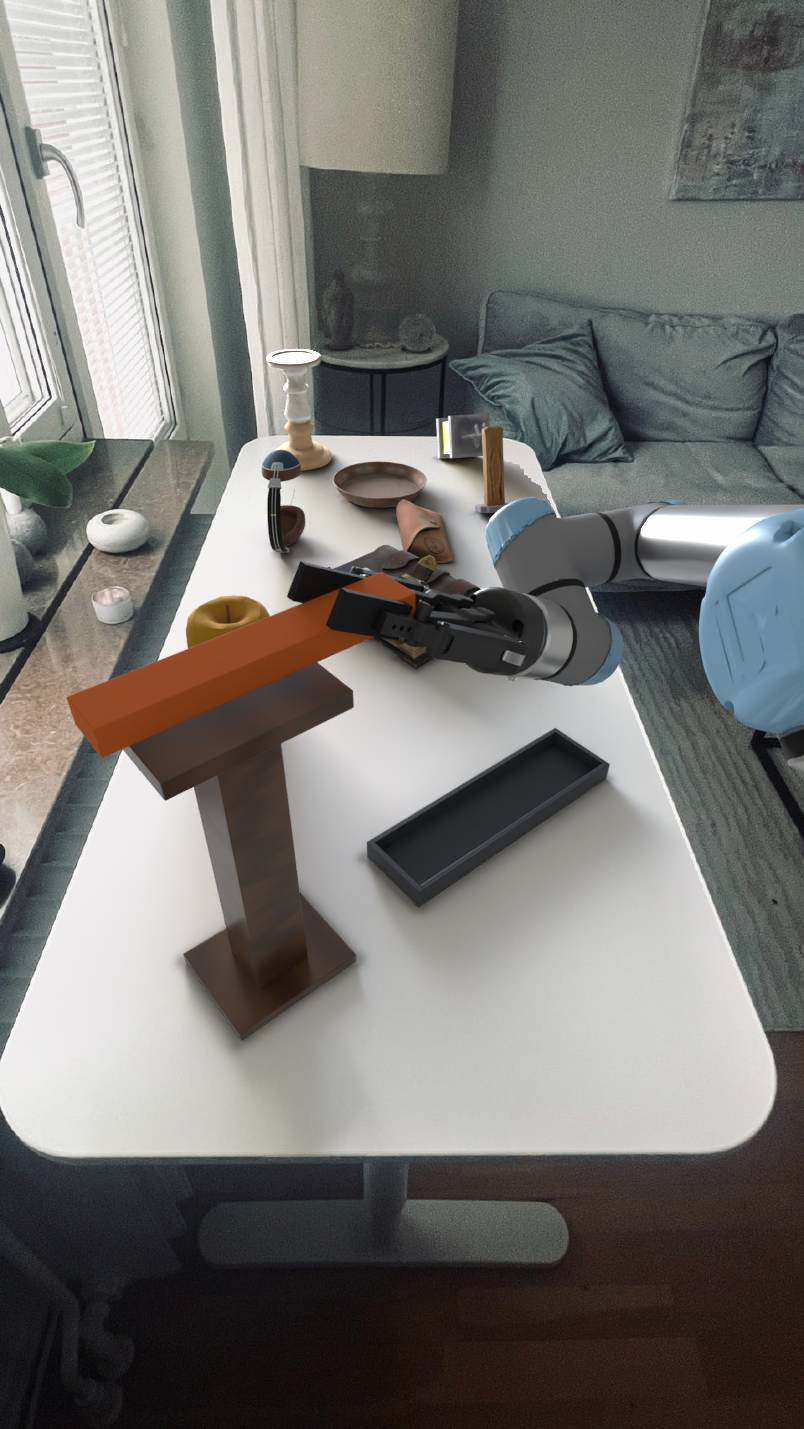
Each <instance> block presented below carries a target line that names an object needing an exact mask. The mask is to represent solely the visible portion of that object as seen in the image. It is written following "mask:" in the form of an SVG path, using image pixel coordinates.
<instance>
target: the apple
mask: <svg viewBox="0 0 804 1429" xmlns="http://www.w3.org/2000/svg"><path fill="white" fill-rule="evenodd" d="M269 616H271V615H270V613H269V611H268V609H267V608H266V606H265V605H263V604H262V602H261V601H259V600H256V599H253V598H251V597H248V596H245V595H235V594H233V595H224V596H223V595H222V596H218V597H216V598H213V599H211V600H208V601H207V602H204V603H202V604H200V605H199V606H197V607H196V608H194V609H193V610H192V611H191V613H190V614H189V615H188V616H187V621H186V626H185V637H186V638H185V639H186V645H187V646H186V647H187V649H189V648H191V647H194V646H196V645H199V644H201V643H204V642H206V641H209V640H211V639H214V638H216V637H219V636H221V635H224V634H226V633H229V632H231V631H234V630H237V629H239V628H242V627H244V626H247V625H249V624H252V623H254V622H257V621H259V620H262V619H264V618H267V617H269Z"/></svg>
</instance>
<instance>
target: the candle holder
mask: <svg viewBox="0 0 804 1429" xmlns="http://www.w3.org/2000/svg"><path fill="white" fill-rule="evenodd" d="M265 361H266V364H267V365H268V366H269V367H271V368H274V369H277V370H281V372H282V373H283V374H284V376H285V378H286V383H285V384H284V385H283V387H282V390H283V391H284V392H285V393H286V403H285V407H284V414H283V415H284V417H285V419H286V420H288V421H287V422H286V424H285V425H284V430H285V431H286V432H287V433H288V441H286V442H283V444H281V445H280V446H279V447H277V448H276V449H274V451H275V450H279V449H283V450H287V451H289V452H291V453H292V454H293V455H294V456H295V457H296V458H297V459H298V460H299V462H300V465H301V472H302V471H311V470H317V469H320V468H323V467H325V466H326V465H328V464H329V463H330V462H331V460H332V451H331V450H330V448H328V447H327V446H325V445H323V444H321V443H320V442H319V441H315V440H313V438H312V432H313V430H314V428H315V425H314V423H313V422H312V421H311V420H310V419H311V417H312V416H313V411H312V408H311V405H310V403H309V397H308V395H307V392H308V391H309V390H310V386H309V384H307V383H306V381H305V376H306V373H307V372H308V371H309V369H310V368H314V367H316V366H319V365H320V364H321V362H322V355H321V353H319V352H316V351H313V350H311V349H302V348H301V349H300V348H299V349H298V348H295V349H294V348H291V349H282V350H276V351H273V352H271V353H269V354H268V355H267V356H266V359H265Z"/></svg>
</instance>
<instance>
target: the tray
mask: <svg viewBox="0 0 804 1429" xmlns="http://www.w3.org/2000/svg"><path fill="white" fill-rule="evenodd" d="M610 765H611V763H609V762H607V761H606V760H605V759H603V758H602V757H601V756H599V755H597V754H595V753H594V752H593V751H591V750H589V749H588V748H587V747H585V746H584V745H582V744H580V743H579V742H578V741H576V740H574V739H573V738H571V737H570V736H568V735H567V734H566V733H564V732H563V731H561V730H559V728H557V727H554V728H552V729H551V730H549V731H547V732H546V733H543V734H542V735H541V736H539V737H537V738H536V739H534V740H532V741H530V742H529V743H527V744H526V745H524V746H523V747H521V748H519V749H518V750H516V751H514V752H512V753H511V754H509V755H507V756H506V757H504V758H503V759H501V760H499V761H498V762H496V763H494V764H492V765H491V766H489V767H488V768H486V769H484V770H483V771H481V772H479V773H478V774H476V775H475V776H473V777H471V778H469V779H468V780H466V781H465V782H463V783H461V784H460V785H458V786H457V787H455V788H454V789H452V790H450V791H448V792H447V793H445V794H444V795H443V794H442V795H441V796H440V797H439V798H437V799H435V800H433V801H432V802H430V803H429V804H427V805H425V806H424V807H422V808H421V809H418V810H417V811H415V812H414V813H412V814H410V815H409V816H407V817H406V818H404V819H402V820H401V821H399V822H397V823H395V824H394V825H392V826H391V827H389V828H387V829H386V830H384V831H383V832H381V833H379V834H378V835H376V836H375V837H373V838H371V839H370V840H367V841H366V856H367V858H368V859H369V860H370V861H371V862H372V863H373V865H375V866H376V867H377V868H378V869H379V871H381V872H382V873H383V874H384V875H385V876H386V877H388V879H389V880H390V881H391V882H392V883H393V884H394V885H395V886H396V887H397V888H398V889H399V890H401V891H402V893H404V894H405V895H406V896H407V897H408V898H409V899H410V900H411V901H412V902H413V903H414V904H415V905H416V906H417V907H418V908H420V907H422V906H423V905H425V904H427V903H428V902H429V901H431V900H433V899H434V898H435V897H436V896H437V895H439V894H441V893H442V892H444V891H445V890H447V889H448V888H449V887H451V886H452V885H454V884H456V883H457V882H458V881H459V880H461V879H462V878H464V877H466V876H467V875H468V874H470V873H472V872H473V871H475V869H477V868H478V867H480V866H481V865H483V864H484V863H486V862H488V861H489V860H490V859H492V858H494V857H495V856H496V855H497V854H499V853H500V852H502V851H503V850H505V849H506V848H508V847H509V846H511V845H512V844H514V843H515V842H517V841H518V840H519V839H520V838H522V837H524V836H525V835H526V834H528V833H529V832H531V831H532V830H534V829H535V828H537V827H538V826H540V825H541V824H542V823H544V822H546V821H547V820H549V819H550V818H551V817H552V816H554V815H555V814H557V813H559V812H560V811H561V810H563V809H564V808H566V807H567V806H569V805H570V804H572V803H573V802H574V801H576V800H578V799H579V798H581V796H583V795H584V794H586V793H588V792H589V791H591V790H592V789H594V788H595V787H596V786H598V785H599V784H601V783H602V782H604V781H605V780H606V779H607V778H608V773H609V769H610Z"/></svg>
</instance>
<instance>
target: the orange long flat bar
mask: <svg viewBox="0 0 804 1429" xmlns="http://www.w3.org/2000/svg"><path fill="white" fill-rule="evenodd" d="M342 588H344V589H349V590H353V591H358V592H362V593H367V594H371V595H376V596H380V597H385V598H389V599H394V600H398V601H403V602H407V603H408V604H410V605H411V606H413V608H412V610H411V612H410V615H412V616H413V615H414V613H415V592H413V591H411V590H410V589H408V588H407V587H405V586H403V585H402V584H400V583H398V582H397V581H395V580H394V579H392V578H390V577H389V576H387V575H385V574H384V573H382V572H380V573H378V574H375V575H372V576H370V577H367V578H365V579H362V580H360V581H357V582H355V583H352V584H350V585H347V586H345V587H342ZM339 590H340V589H337V590H335V591H332V592H330V593H327V594H325V595H322V596H320V597H317V598H315V599H312V600H310V601H307V602H304V603H300V604H297V605H295V606H294V605H293V606H292V607H289V608H287V609H285V610H281V611H280V612H277V613H274V614H271V615H270V616H269V617H267V618H264V619H262V620H259V621H257V622H254V623H252V624H249V625H247V626H244V627H242V628H239V629H237V630H234V631H231V632H229V633H226V634H224V635H221V636H219V637H216V638H214V639H211V640H209V641H206V642H204V643H201V644H199V645H196V646H194V647H191V648H189V649H188V648H186V649H183V650H181V651H179V652H176V653H174V654H171V655H168V656H166V657H163V658H161V659H158V660H156V661H153V662H151V663H149V664H146V665H144V666H141V667H138V668H136V669H133V670H131V671H128V672H126V673H122V674H121V675H118V676H116V677H114V678H111V679H108V680H105V681H103V682H100V683H98V684H95V685H94V686H93V685H92V686H90V687H88V688H86V689H83V690H81V691H78V692H76V693H73V694H70V695H68V696H67V697H66V700H67V704H68V706H69V710H70V712H71V715H72V718H73V722H74V724H75V726H76V727H77V728H78V730H79V732H81V733H82V735H83V736H84V737H85V739H86V740H87V741H88V743H89V744H90V745H91V747H92V748H93V749H94V750H95V751H96V753H97V754H98V755H99V756H100V758H102V759H104V758H106V757H108V756H111V755H113V754H115V753H117V752H120V751H121V750H123V749H124V748H126V747H128V746H131V745H133V744H135V743H137V742H140V741H142V740H144V739H146V738H149V737H151V736H153V735H155V734H158V733H160V732H162V731H164V730H167V729H169V728H171V727H173V726H176V725H178V724H180V723H182V722H184V721H187V720H189V719H191V718H193V717H196V716H198V715H200V714H202V713H205V712H207V711H209V710H211V709H214V708H216V707H218V706H220V705H223V704H225V703H227V702H229V701H232V700H234V699H236V698H238V697H240V696H243V695H245V694H247V693H249V692H252V691H254V690H256V689H258V688H261V687H263V686H265V685H267V684H270V683H272V682H274V681H276V680H279V679H281V678H283V677H285V676H288V675H290V674H292V673H294V672H296V671H299V670H301V669H303V668H305V667H308V666H310V665H312V664H314V663H319V662H321V661H324V660H326V659H328V658H330V657H332V656H334V655H336V654H339V653H341V652H344V651H345V650H349V649H350V648H352V647H355V646H357V645H359V644H361V643H364V642H366V641H369V640H370V639H372V638H373V636H366V635H360V634H354V633H348V632H342V631H336V630H332V629H330V628H329V627H328V626H326V623H327V620H328V618H329V615H330V613H331V610H332V608H333V605H334V602H335V600H336V597H337V595H338V592H339Z"/></svg>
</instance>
